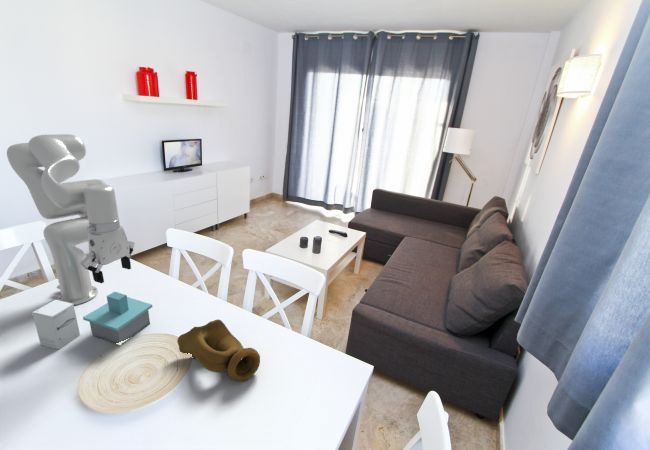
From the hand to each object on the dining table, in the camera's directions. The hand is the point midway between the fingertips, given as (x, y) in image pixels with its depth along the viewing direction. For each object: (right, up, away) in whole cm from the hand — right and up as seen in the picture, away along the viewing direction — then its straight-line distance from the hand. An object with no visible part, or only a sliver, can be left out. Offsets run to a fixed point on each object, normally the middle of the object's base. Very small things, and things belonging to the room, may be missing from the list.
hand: (113, 274), depth 100 cm
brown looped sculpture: (+34, -28, -1) cm, 44 cm away
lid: (-2, -15, +6) cm, 17 cm away
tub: (-2, -20, +8) cm, 22 cm away
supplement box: (-18, -22, +1) cm, 28 cm away
